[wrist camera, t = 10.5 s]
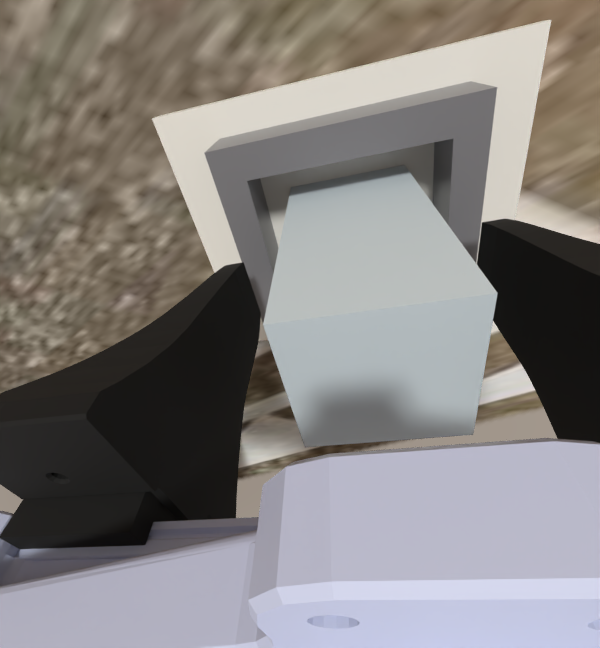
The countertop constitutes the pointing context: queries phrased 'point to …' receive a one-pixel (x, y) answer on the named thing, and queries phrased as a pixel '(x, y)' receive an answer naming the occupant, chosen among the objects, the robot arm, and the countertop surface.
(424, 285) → the block
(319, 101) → the dock
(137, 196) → the countertop surface
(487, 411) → the countertop surface
